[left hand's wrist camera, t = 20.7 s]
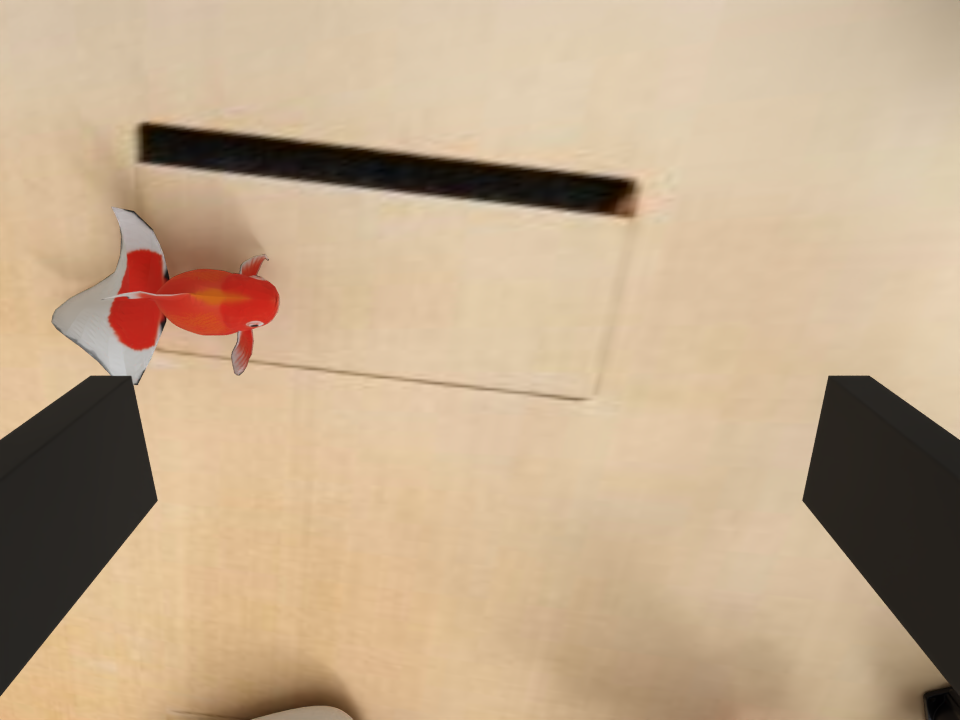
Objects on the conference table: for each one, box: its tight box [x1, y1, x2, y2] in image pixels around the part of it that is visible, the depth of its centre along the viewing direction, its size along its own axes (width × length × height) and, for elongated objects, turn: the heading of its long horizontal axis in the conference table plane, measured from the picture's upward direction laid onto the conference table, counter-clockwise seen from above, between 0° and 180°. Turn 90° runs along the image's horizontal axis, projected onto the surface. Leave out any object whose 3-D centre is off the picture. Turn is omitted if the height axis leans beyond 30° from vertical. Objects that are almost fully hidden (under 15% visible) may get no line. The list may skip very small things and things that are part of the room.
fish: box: [52, 207, 280, 385], centre depth 42 cm, size 11×16×10 cm
